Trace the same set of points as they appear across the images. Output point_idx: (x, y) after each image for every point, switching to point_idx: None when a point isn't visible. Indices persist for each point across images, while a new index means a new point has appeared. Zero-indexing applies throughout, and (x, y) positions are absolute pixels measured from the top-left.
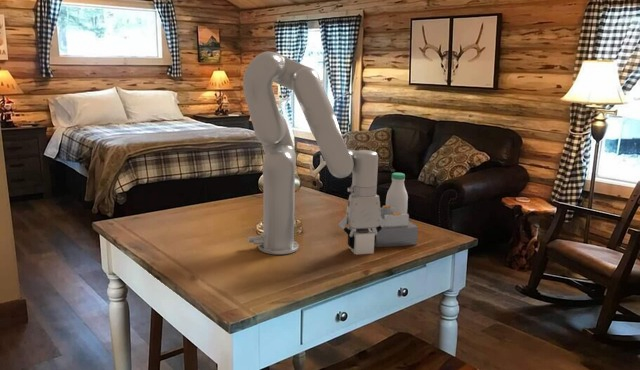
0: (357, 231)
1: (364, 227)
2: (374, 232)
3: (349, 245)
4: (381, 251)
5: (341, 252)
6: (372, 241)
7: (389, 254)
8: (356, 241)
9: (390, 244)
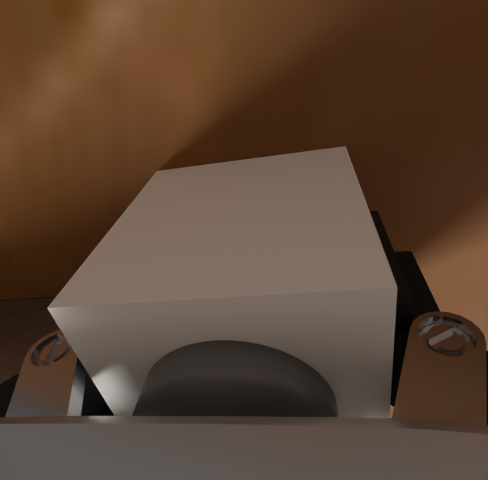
0: (327, 395)
1: (204, 429)
2: (64, 360)
3: (401, 253)
4: (87, 210)
5: (466, 211)
6: (129, 231)
7: (9, 132)
8: (361, 218)
9: (18, 309)
